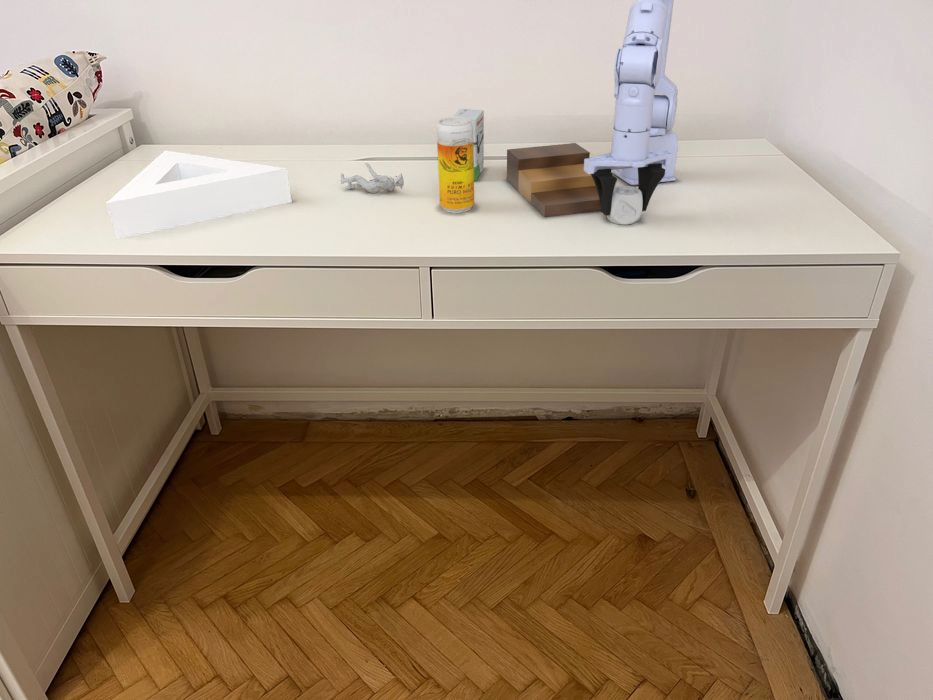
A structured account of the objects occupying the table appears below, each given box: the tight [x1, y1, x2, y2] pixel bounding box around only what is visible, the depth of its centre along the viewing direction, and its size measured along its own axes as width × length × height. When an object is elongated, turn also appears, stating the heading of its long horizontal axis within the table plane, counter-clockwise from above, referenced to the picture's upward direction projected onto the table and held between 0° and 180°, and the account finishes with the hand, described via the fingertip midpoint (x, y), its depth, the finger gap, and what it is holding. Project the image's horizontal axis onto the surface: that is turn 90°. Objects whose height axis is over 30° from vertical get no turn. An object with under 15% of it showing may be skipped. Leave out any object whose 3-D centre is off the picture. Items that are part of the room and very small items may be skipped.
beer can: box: [436, 116, 475, 214], centre depth 118 cm, size 6×6×15 cm
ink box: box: [452, 108, 485, 181], centre depth 136 cm, size 9×5×12 cm, turn 168°
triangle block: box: [105, 150, 293, 240], centre depth 128 cm, size 30×26×6 cm
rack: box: [506, 142, 601, 218], centre depth 126 cm, size 14×21×6 cm, turn 15°
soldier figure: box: [340, 162, 405, 194], centre depth 129 cm, size 8×5×12 cm
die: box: [606, 185, 643, 226], centre depth 115 cm, size 5×5×5 cm
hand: (623, 211), depth 115 cm, fingers closed on die, 6 cm apart
